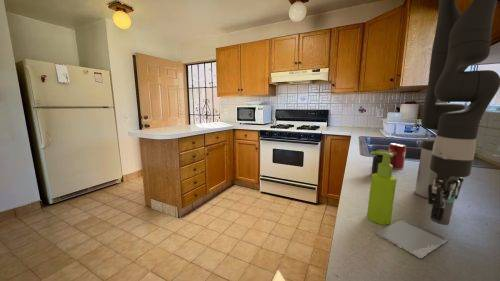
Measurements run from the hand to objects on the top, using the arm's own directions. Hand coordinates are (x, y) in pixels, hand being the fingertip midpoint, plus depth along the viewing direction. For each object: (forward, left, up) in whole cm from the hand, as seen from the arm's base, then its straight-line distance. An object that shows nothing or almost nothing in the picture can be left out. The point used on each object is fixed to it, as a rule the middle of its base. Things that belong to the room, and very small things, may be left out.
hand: (440, 216), depth 56 cm
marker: (0, 0, -1) cm, 1 cm away
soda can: (-47, -36, -4) cm, 60 cm away
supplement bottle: (-27, -32, -4) cm, 42 cm away
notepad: (+11, -1, -4) cm, 11 cm away
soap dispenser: (+10, -11, -4) cm, 15 cm away
